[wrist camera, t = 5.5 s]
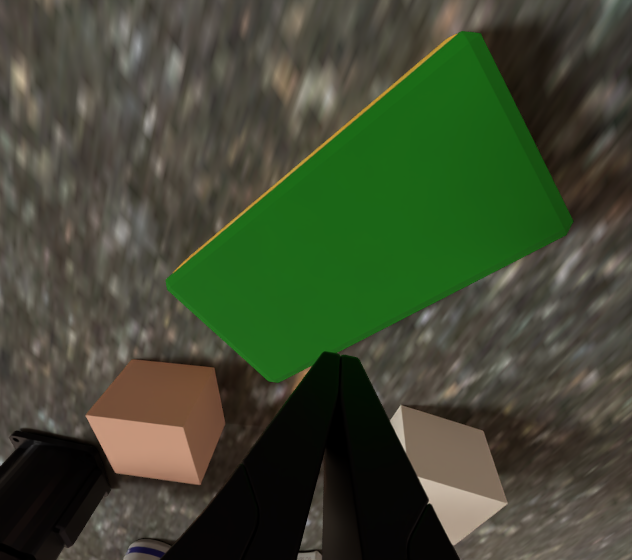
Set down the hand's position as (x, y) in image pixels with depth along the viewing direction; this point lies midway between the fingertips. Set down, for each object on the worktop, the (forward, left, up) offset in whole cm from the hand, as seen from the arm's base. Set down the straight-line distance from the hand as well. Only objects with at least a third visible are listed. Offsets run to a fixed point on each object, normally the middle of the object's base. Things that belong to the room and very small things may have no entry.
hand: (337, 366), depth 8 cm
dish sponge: (0, 0, -8) cm, 8 cm away
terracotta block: (-8, -12, -7) cm, 16 cm away
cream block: (+7, -12, -7) cm, 16 cm away
